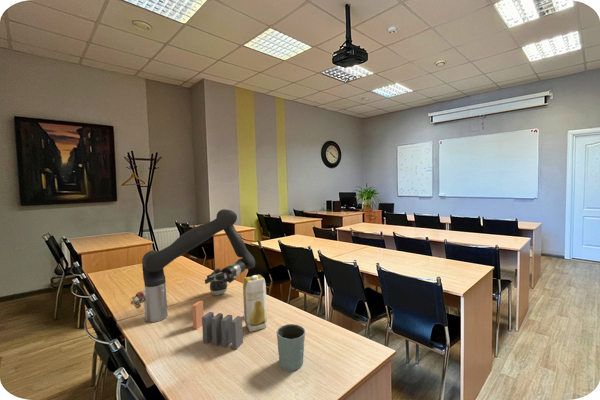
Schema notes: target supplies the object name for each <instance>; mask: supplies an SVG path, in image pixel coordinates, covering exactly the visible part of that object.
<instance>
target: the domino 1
mask: <svg viewBox="0 0 600 400" xmlns="http://www.w3.org/2000/svg"><path fill="white" fill-rule="evenodd" d="M191 309H192V312H191V313H192V328H193V330H198V329H200V328H201V327H202V317H203V316H204V315H205V312H204V301H203V300H198V301H196V302H195V303H193V304H192V305H191Z"/></svg>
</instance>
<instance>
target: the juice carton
mask: <svg viewBox="0 0 600 400" xmlns="http://www.w3.org/2000/svg"><path fill="white" fill-rule="evenodd" d="M266 285H267V284H266V280H265V278H264V277H263V276H262V275H261V274H254V275H251V276H246V277H244V276H243V284H242V292H243V293H242V294H243V296H242V297H243V315H244V317H243V318H244V323H245V326H246V328H247V329H248V331H249V332H250V333H252V332H255V331H258V330H263V329H265V328H267V325H268V324H267V323H268V310H267V309H268V306H267V305H268V304H267V288H266V287H267V286H266Z"/></svg>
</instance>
